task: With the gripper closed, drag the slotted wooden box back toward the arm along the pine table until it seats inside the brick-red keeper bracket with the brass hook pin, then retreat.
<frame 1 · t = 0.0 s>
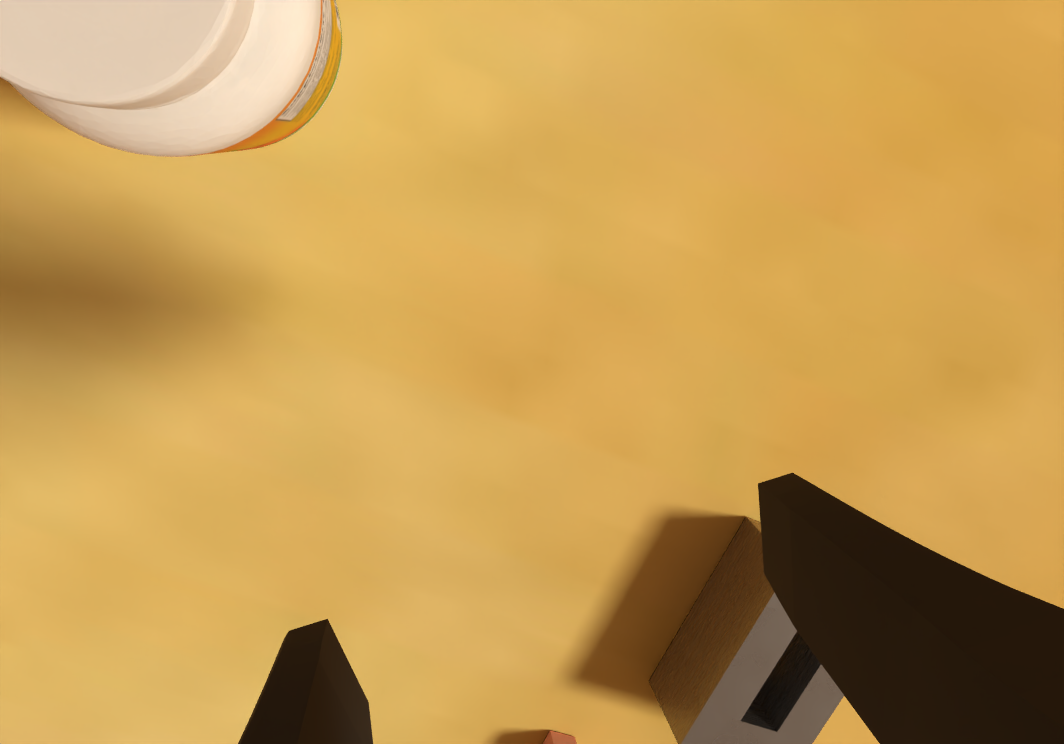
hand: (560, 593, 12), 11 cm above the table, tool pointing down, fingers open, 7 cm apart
supplement bottle: (232, 34, 18), on the table
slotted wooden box: (747, 619, 26), on the table
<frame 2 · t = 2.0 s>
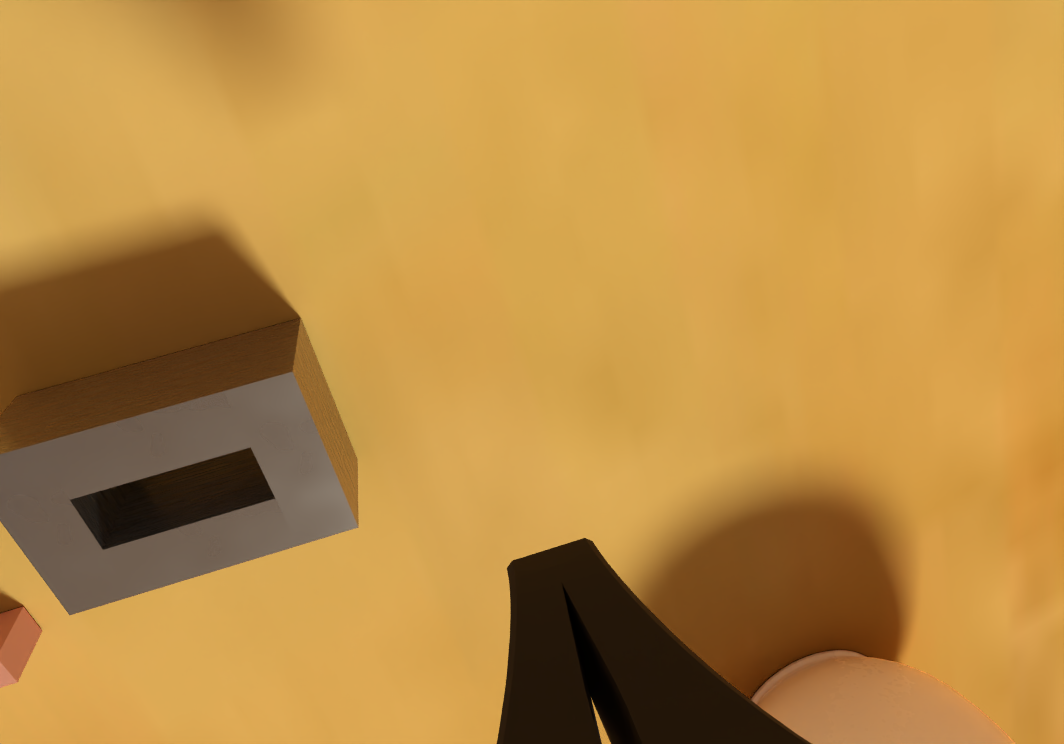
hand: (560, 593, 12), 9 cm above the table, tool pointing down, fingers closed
lidded jar: (807, 699, 31), on the table
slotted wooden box: (199, 430, 19), on the table
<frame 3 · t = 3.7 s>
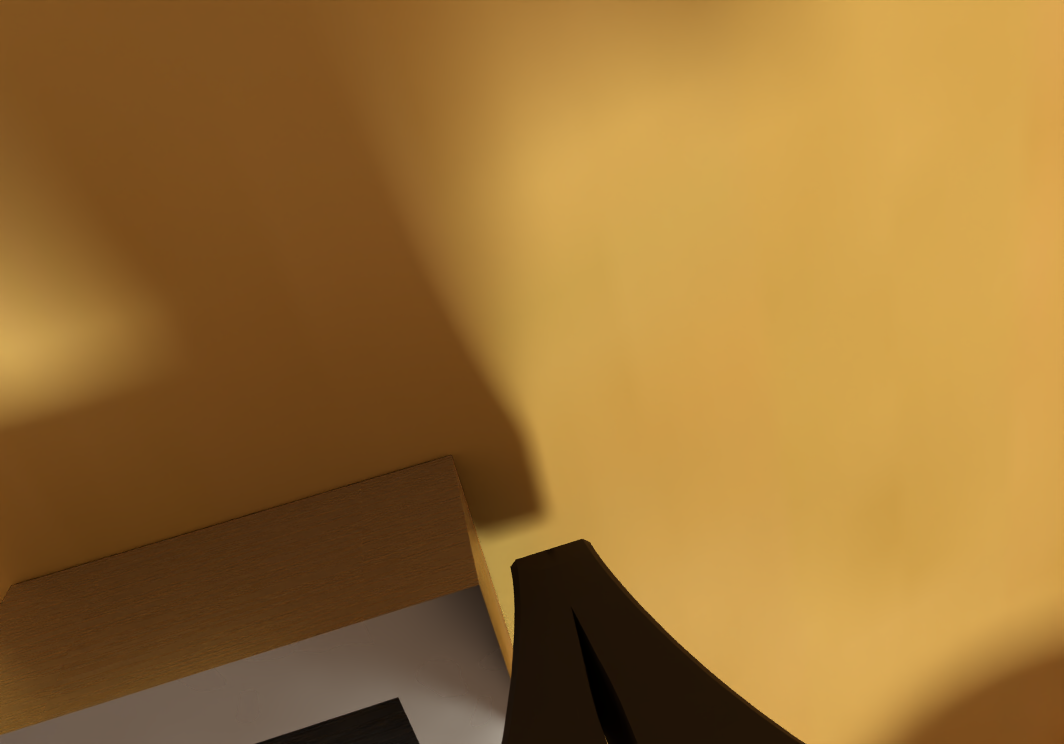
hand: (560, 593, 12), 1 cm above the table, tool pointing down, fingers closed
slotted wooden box: (288, 616, 13), on the table, touching gripper
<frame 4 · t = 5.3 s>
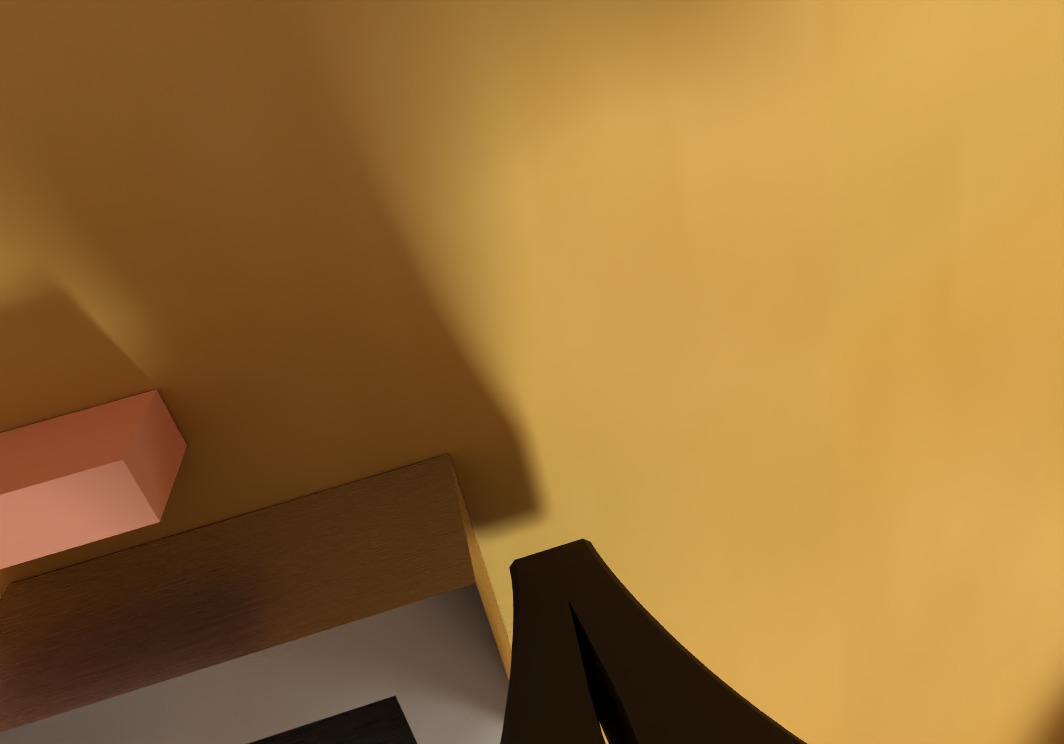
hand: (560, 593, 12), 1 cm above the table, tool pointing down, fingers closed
keeper bracket: (251, 628, 13), on the table
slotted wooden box: (286, 615, 13), on the table, touching gripper
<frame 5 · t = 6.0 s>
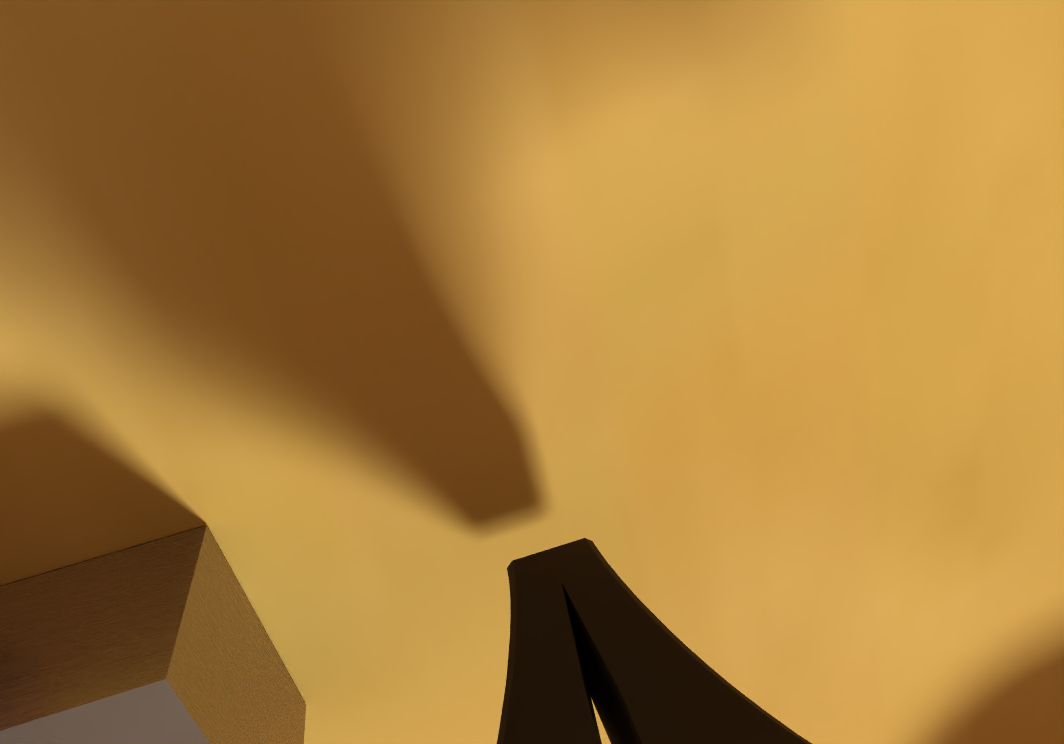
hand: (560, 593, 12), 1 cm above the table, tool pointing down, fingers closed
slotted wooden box: (55, 686, 12), on the table
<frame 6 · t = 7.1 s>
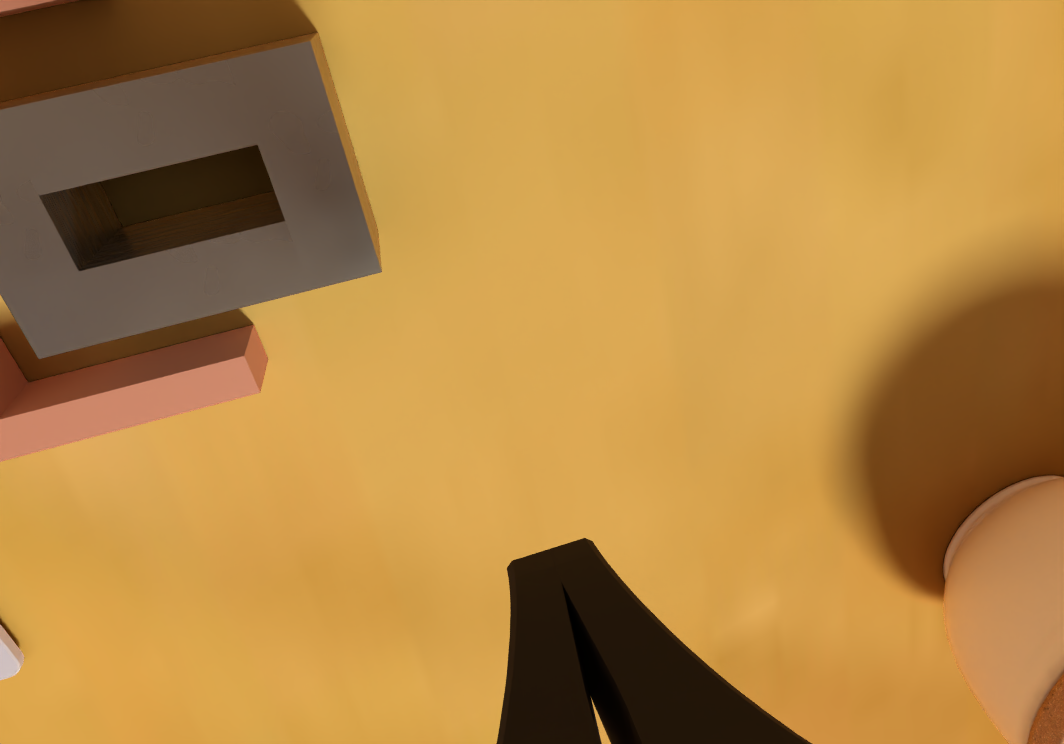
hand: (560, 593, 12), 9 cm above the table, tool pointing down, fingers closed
keeper bracket: (169, 182, 17), on the table
lidded jar: (1010, 536, 29), on the table
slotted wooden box: (196, 174, 17), on the table
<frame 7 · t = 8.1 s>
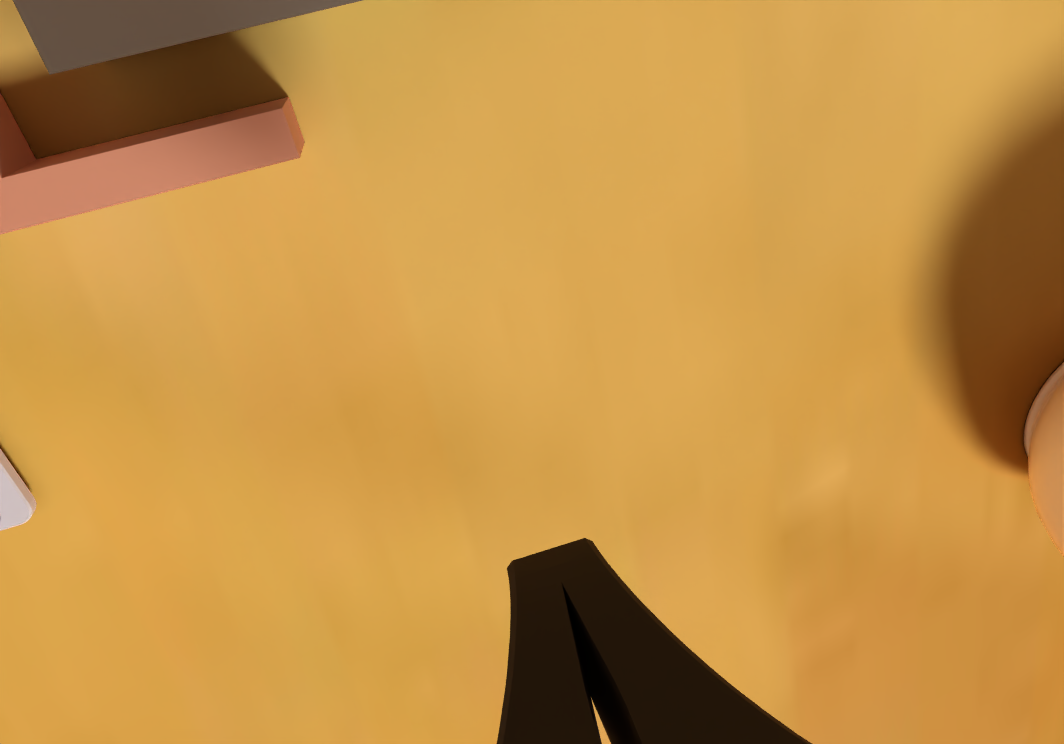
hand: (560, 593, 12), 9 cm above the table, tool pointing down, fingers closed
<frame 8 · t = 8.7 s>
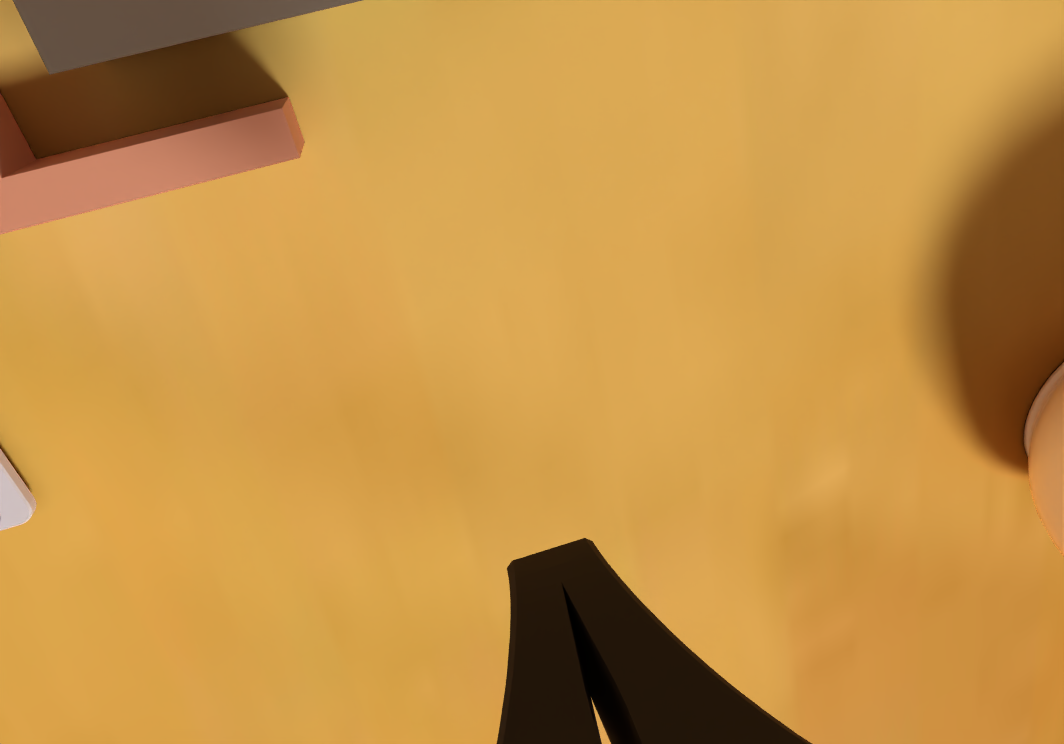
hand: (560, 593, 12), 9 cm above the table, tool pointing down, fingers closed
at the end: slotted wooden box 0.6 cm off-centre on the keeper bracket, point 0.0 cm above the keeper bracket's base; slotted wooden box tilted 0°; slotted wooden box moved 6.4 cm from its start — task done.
